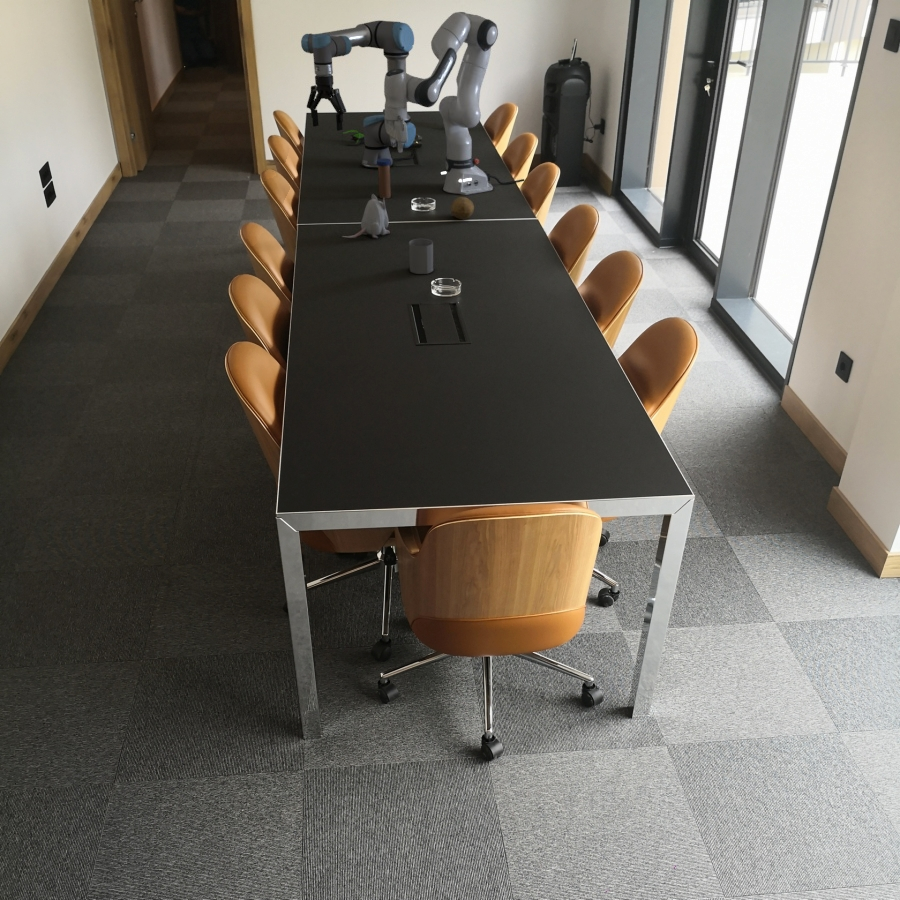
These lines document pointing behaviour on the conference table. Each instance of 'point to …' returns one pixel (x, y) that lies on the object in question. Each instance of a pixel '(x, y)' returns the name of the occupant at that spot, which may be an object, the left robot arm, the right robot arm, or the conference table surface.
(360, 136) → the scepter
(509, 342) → the conference table surface
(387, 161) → the lid
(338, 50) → the left robot arm
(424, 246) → the cup
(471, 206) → the potato
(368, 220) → the toy
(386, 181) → the jar
